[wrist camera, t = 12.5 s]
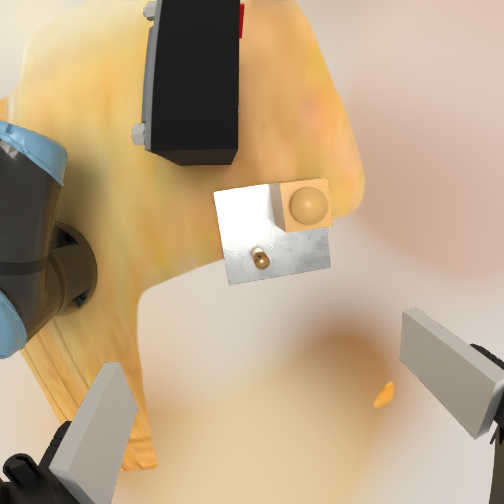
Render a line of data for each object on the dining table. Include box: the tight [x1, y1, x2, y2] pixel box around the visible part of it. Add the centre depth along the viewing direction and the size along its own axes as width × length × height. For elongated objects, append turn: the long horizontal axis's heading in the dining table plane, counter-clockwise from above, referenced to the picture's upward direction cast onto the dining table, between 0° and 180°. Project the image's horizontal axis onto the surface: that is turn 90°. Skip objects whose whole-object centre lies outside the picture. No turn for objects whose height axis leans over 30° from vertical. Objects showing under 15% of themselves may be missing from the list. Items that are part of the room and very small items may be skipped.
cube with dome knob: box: [269, 178, 333, 233], centre depth 41 cm, size 6×6×10 cm
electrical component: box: [131, 0, 244, 166], centre depth 32 cm, size 18×10×20 cm, turn 0°
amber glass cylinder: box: [251, 248, 270, 270], centre depth 44 cm, size 2×2×5 cm
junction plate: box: [214, 178, 330, 285], centre depth 47 cm, size 16×14×1 cm
